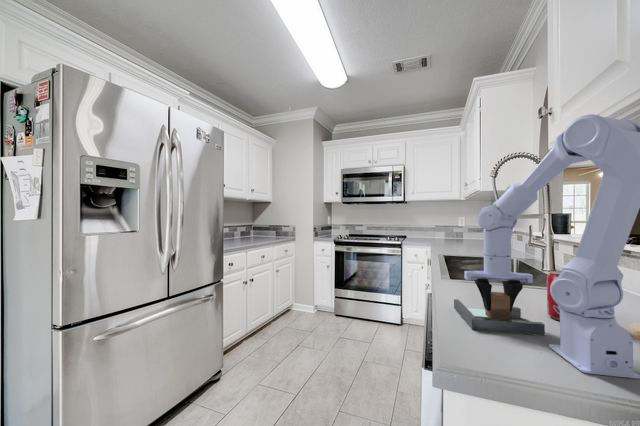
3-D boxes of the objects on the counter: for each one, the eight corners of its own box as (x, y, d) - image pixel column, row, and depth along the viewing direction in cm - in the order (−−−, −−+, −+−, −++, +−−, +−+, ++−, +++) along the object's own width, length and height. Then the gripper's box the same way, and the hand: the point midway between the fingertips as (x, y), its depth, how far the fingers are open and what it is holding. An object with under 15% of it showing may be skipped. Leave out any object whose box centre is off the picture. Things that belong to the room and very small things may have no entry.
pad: (497, 318, 69) (497, 317, 69) (471, 316, 70) (471, 315, 70) (488, 310, 75) (488, 309, 75) (464, 309, 76) (464, 308, 76)
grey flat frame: (544, 335, 59) (544, 324, 59) (471, 329, 62) (471, 318, 62) (511, 311, 74) (511, 302, 74) (454, 307, 77) (453, 299, 77)
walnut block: (510, 321, 64) (510, 296, 64) (491, 320, 65) (491, 295, 65) (502, 315, 68) (502, 292, 68) (485, 314, 69) (485, 291, 69)
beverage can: (586, 324, 65) (585, 275, 65) (557, 322, 66) (556, 274, 66) (568, 315, 71) (567, 270, 71) (541, 313, 72) (541, 269, 73)
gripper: (521, 253, 69) (522, 306, 68) (460, 252, 72) (461, 302, 72) (537, 258, 62) (538, 316, 62) (469, 256, 65) (469, 311, 65)
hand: (497, 309), depth 66 cm, fingers closed on walnut block, 4 cm apart
